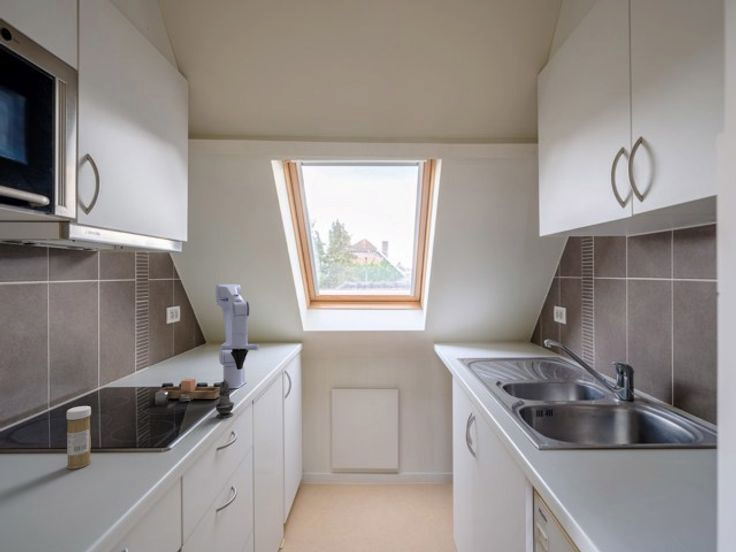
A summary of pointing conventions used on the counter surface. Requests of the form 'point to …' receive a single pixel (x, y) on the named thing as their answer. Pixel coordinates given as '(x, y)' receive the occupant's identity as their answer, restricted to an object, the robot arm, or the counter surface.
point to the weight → (161, 398)
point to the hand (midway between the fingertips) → (239, 369)
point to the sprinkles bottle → (78, 437)
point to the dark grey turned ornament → (224, 402)
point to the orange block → (188, 385)
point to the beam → (192, 393)
